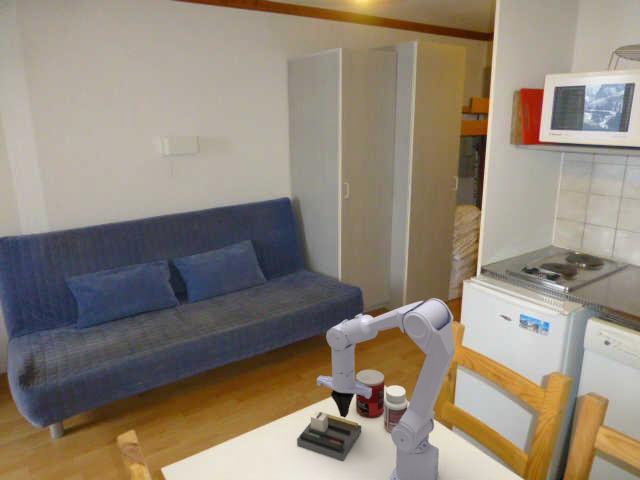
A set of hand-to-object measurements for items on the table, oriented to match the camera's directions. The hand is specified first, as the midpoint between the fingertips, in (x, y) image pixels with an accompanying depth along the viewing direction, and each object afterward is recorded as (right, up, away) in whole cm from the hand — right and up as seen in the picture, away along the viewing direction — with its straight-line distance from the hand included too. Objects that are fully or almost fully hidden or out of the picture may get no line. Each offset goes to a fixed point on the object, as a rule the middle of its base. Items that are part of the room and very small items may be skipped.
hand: (344, 414), depth 122 cm
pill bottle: (+14, -6, +6) cm, 17 cm away
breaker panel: (-4, -7, +2) cm, 8 cm away
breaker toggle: (-6, -5, +3) cm, 9 cm away
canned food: (+8, -4, +14) cm, 16 cm away
